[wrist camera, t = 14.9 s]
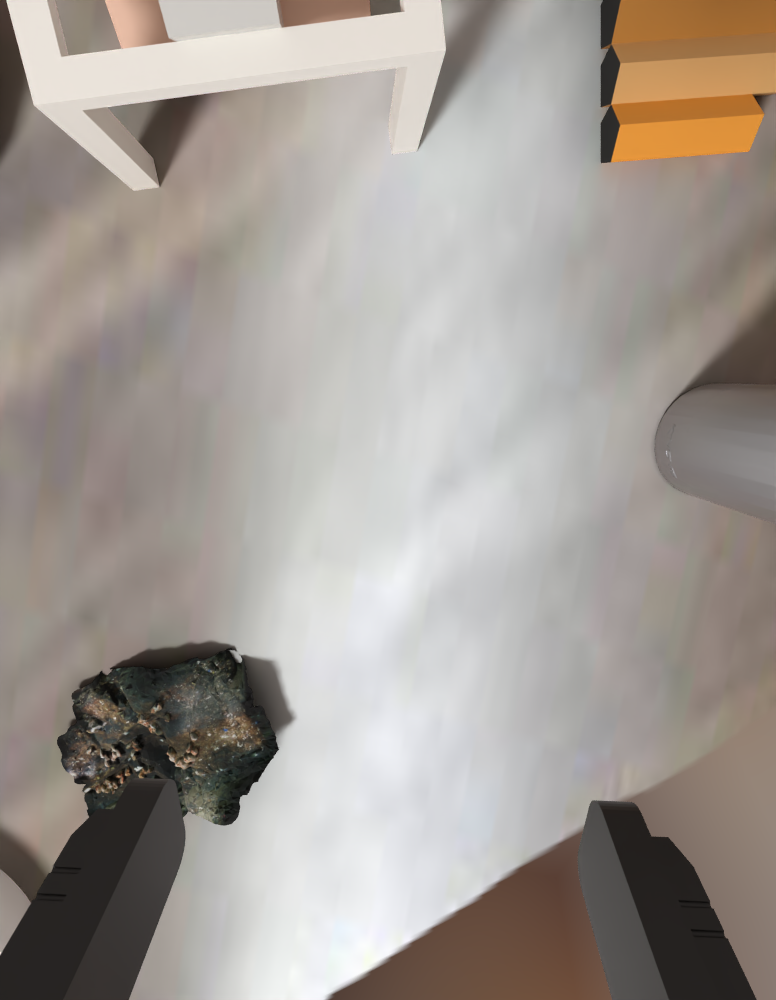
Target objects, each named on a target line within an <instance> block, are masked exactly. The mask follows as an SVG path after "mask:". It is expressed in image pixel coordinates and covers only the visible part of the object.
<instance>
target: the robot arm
mask: <svg viewBox="0 0 776 1000" xmlns="http://www.w3.org/2000/svg"><path fill="white" fill-rule="evenodd" d="M655 456H656V462H657V464H658V467H659V470H660V472H661V473H662V475H663V476H664V478H665V479H666V480H667V481H668V482H669V483H670V484H671V485H672V486H673V487H675V488H676V489H678V490H680V491H682V492H684V493H687V494H690V495H693V496H696V497H698V498H701V499H704V500H707V501H710V502H713V503H715V504H718V505H721V506H724V507H727V508H730V509H732V510H735V511H738V512H741V513H744V514H747V515H750V516H753V517H756V518H758V519H761V520H764V521H767V522H770V523H773V524H776V384H729V383H714V384H707V385H702V386H699V387H697V388H694V389H692V390H690V391H688V392H687V393H685V394H683V395H682V396H681V397H679V398H678V399H677V400H676V401H675V402H674V403H673V404H672V405H671V406H670V408H669V409H668V410H667V412H666V413H665V414H664V416H663V418H662V420H661V422H660V424H659V427H658V430H657V434H656V437H655ZM184 846H185V826H184V821H183V816H182V811H181V806H180V801H179V796H178V791H177V786H176V783H175V781H174V780H171V779H149V778H134V779H132V780H131V781H130V782H129V783H128V784H127V786H126V787H125V789H124V791H123V793H122V795H121V796H120V798H119V800H118V802H117V804H116V806H115V807H114V809H97V810H96V811H95V812H94V813H93V814H92V815H91V816H90V817H89V818H88V819H87V820H86V821H85V822H84V823H83V824H82V825H81V826H80V827H79V828H78V829H77V830H76V831H75V832H74V833H73V834H72V835H71V837H70V838H69V840H68V842H67V843H66V845H65V847H64V848H63V850H62V852H61V853H60V855H59V857H58V859H57V860H56V862H55V864H54V865H53V870H52V872H51V873H49V874H48V875H47V877H46V879H45V880H44V882H43V884H42V885H41V887H40V889H39V891H38V892H37V897H36V899H35V900H33V901H32V902H31V904H30V906H29V907H28V909H27V911H26V912H25V914H24V916H23V917H22V919H21V921H20V922H19V924H18V926H17V928H16V929H15V931H14V933H13V934H12V936H11V938H10V939H9V941H8V943H7V944H6V946H5V948H4V949H3V951H2V953H1V954H0V1000H129V997H130V995H131V992H132V990H133V987H134V984H135V982H136V979H137V977H138V974H139V971H140V969H141V966H142V963H143V961H144V958H145V956H146V953H147V950H148V948H149V945H150V943H151V940H152V937H153V935H154V932H155V929H156V927H157V924H158V922H159V919H160V916H161V914H162V911H163V909H164V906H165V903H166V901H167V898H168V896H169V893H170V890H171V888H172V885H173V882H174V880H175V877H176V875H177V872H178V869H179V867H180V864H181V860H182V856H183V852H184ZM578 871H579V878H580V884H581V888H582V892H583V896H584V899H585V903H586V906H587V910H588V914H589V917H590V921H591V924H592V928H593V932H594V935H595V939H596V943H597V946H598V950H599V954H600V957H601V961H602V964H603V968H604V972H605V975H606V979H607V982H608V986H609V990H610V993H611V997H612V1000H756V998H755V995H754V993H753V991H752V989H751V987H750V985H749V983H748V981H747V978H746V976H745V974H744V972H743V970H742V968H741V966H740V964H739V962H738V960H737V957H736V955H735V953H734V951H733V949H732V947H731V945H730V943H729V941H728V939H727V938H725V936H724V930H723V928H722V926H721V924H720V921H719V919H718V917H717V915H716V913H715V911H714V909H712V908H711V906H710V900H709V898H708V896H707V894H706V892H705V890H704V888H703V886H702V884H701V881H700V879H699V877H698V875H697V873H696V871H695V869H694V867H693V866H692V865H691V864H690V862H689V861H688V860H687V859H686V857H685V856H684V855H683V854H682V853H681V852H680V850H679V849H678V848H677V847H676V846H675V845H674V843H673V842H672V841H671V840H670V839H669V838H668V837H651V835H650V833H649V830H648V828H647V826H646V823H645V821H644V819H643V816H642V814H641V812H640V810H639V808H638V807H637V806H636V805H635V804H634V803H632V802H617V801H595V800H594V801H592V802H591V803H590V806H589V810H588V814H587V818H586V822H585V826H584V830H583V834H582V838H581V842H580V846H579V851H578Z"/></svg>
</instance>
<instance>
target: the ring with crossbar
mask: <svg viewBox="0 0 776 1000" xmlns="http://www.w3.org/2000/svg"><path fill="white" fill-rule="evenodd" d="M30 904H31V902H30V901H29V899H28V898H27V896H26V895H25V894H24V892H23V891H22V890H21V889H20V887H19V886H18V885H17V884H16V883H15V882H14V881H13V880H12V879H11V878H10V877H9V876H8V875H7V874H6V873H4V872H3V871H2V870H1V869H0V954H1V953H2V951H3V949H4V948H5V946H6V944H7V943H8V941H9V939H10V938H11V936H12V934H13V933H14V931H15V929H16V928H17V926H18V924H19V922H20V921H21V919H22V917H23V916H24V914H25V912H26V911H27V909H28V907H29V906H30Z"/></svg>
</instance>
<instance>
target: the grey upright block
mask: <svg viewBox="0 0 776 1000" xmlns="http://www.w3.org/2000/svg"><path fill="white" fill-rule="evenodd" d="M158 1H159V4H160V8H161V12H162V15H163V19H164V23H165V26H166V30H167V34H168V37H169V38H170V39H172V40H174V41H177V42H178V41H185V40H193V39H200V38H208V37H216V36H223V35H231V34H238V33H246V32H253V31H261V30H269V29H276V28H284V23H283V17H282V11H281V5H280V0H158Z"/></svg>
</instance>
